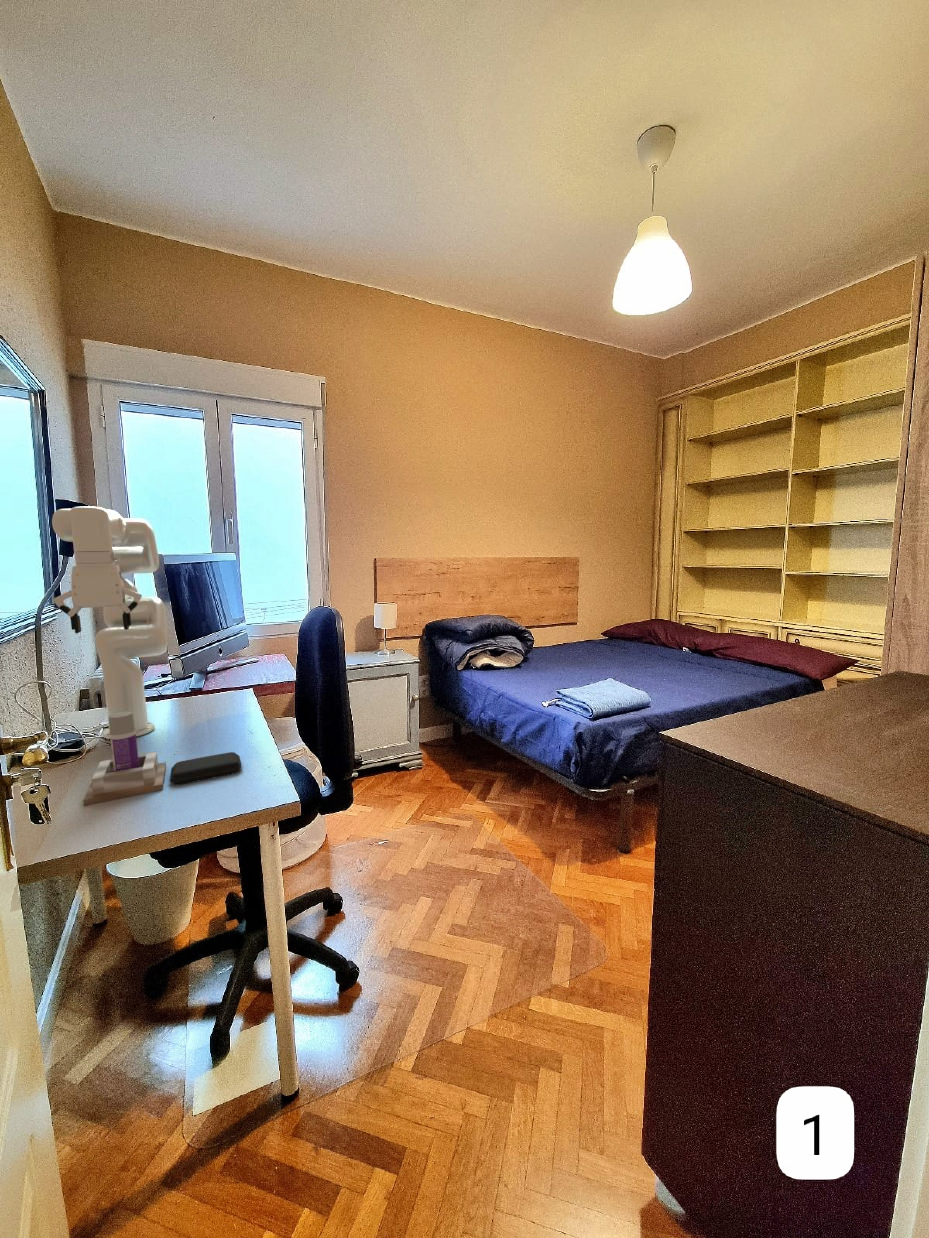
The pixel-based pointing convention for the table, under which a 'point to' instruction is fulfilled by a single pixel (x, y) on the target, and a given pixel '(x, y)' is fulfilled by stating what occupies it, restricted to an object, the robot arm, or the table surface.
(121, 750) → the container
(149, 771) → the mount
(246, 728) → the table surface
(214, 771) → the carrying case or bag
